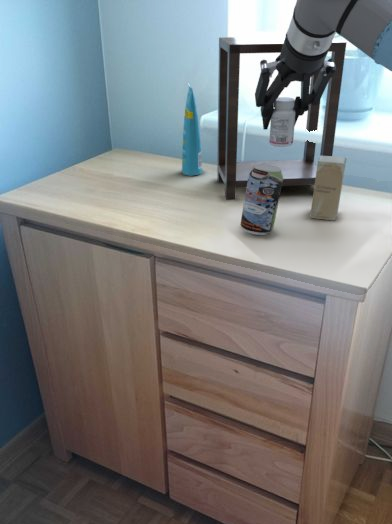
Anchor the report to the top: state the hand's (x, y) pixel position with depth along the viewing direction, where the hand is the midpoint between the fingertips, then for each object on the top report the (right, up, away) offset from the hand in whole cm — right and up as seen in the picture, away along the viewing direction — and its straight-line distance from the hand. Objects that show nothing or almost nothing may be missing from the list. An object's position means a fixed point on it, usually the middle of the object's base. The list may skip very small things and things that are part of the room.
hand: (277, 122), depth 114 cm
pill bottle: (0, -5, -1) cm, 5 cm away
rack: (0, -10, +11) cm, 15 cm away
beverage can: (-5, -25, -10) cm, 27 cm away
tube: (-18, -4, +21) cm, 28 cm away
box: (+9, -20, -4) cm, 22 cm away
